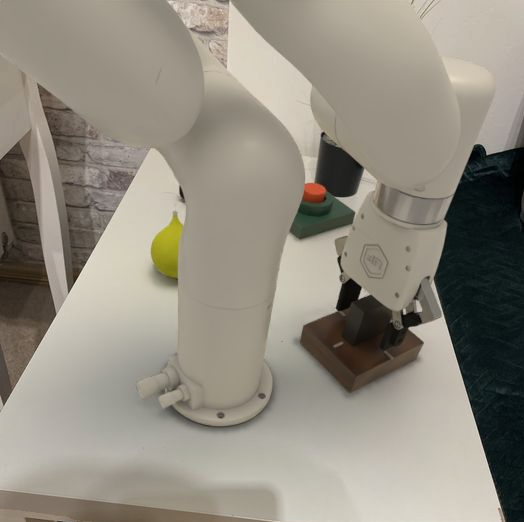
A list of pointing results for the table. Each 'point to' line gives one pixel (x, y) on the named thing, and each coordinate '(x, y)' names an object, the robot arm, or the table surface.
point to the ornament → (167, 248)
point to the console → (355, 351)
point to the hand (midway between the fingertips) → (367, 325)
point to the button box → (320, 217)
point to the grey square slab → (365, 320)
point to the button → (314, 193)
